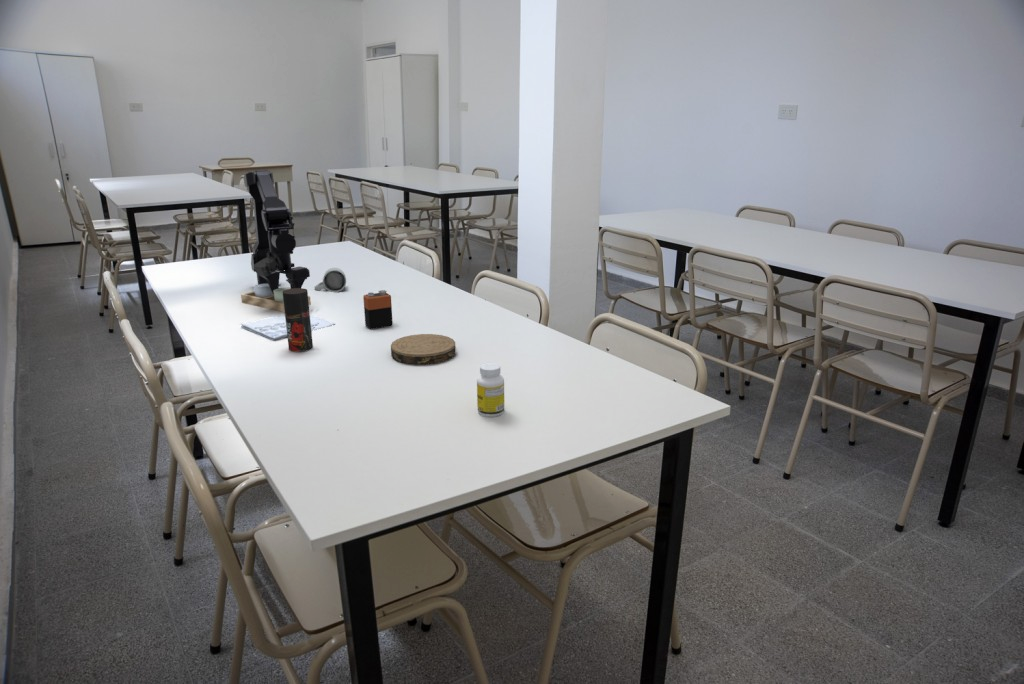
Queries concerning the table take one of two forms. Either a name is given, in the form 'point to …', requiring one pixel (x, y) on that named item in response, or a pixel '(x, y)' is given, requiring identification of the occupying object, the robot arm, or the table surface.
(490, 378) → the supplement bottle
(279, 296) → the sage green cylinder
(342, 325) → the table surface
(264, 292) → the pale blue rounded cylinder
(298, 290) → the deodorant
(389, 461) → the table surface
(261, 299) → the divided wooden tray
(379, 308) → the battery
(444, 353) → the wood slice coaster
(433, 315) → the table surface
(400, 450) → the table surface
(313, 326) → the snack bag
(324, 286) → the ceramic mug
